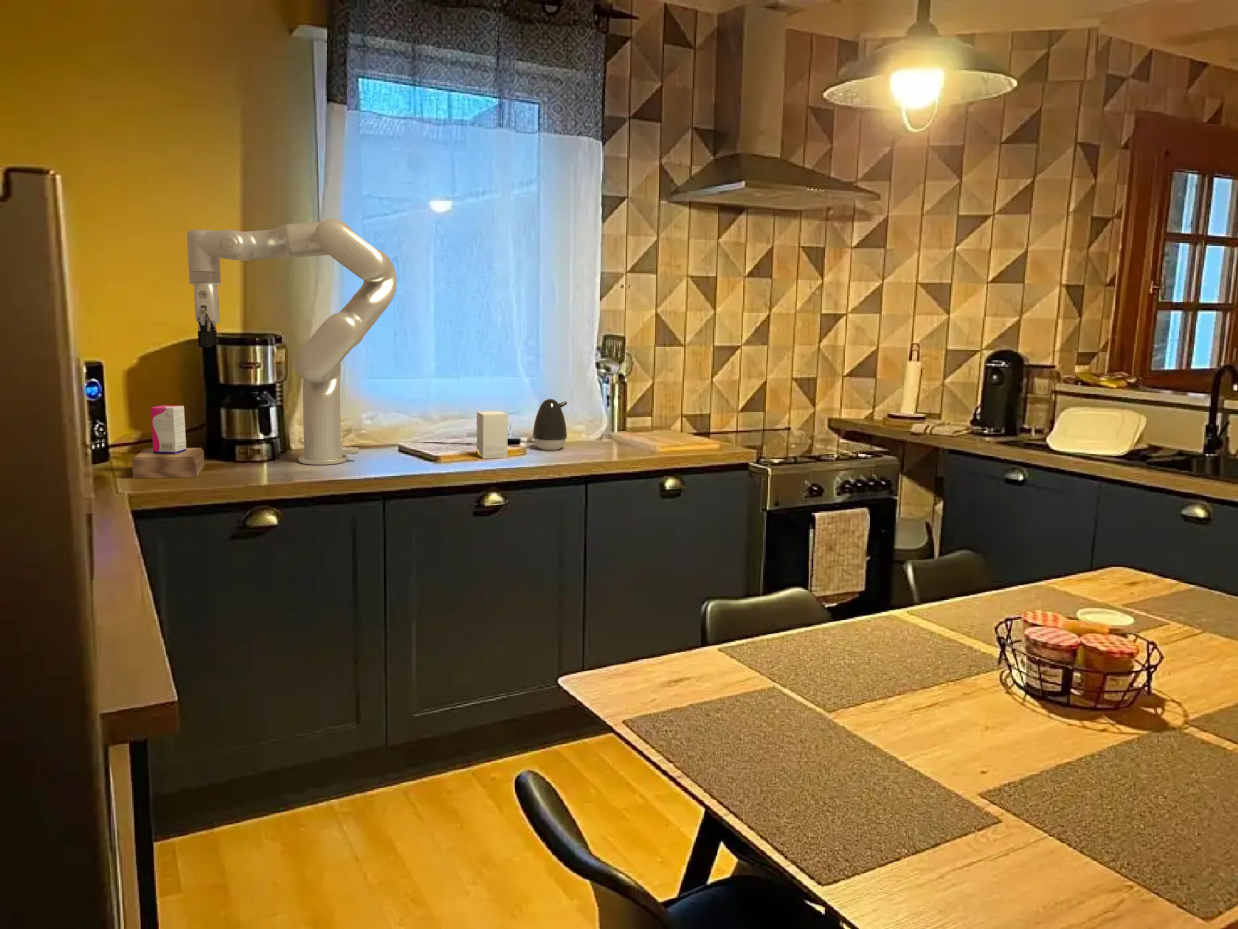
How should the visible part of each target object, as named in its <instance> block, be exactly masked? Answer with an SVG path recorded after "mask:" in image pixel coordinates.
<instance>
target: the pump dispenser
mask: <svg viewBox="0 0 1238 929" xmlns="http://www.w3.org/2000/svg"><path fill="white" fill-rule="evenodd" d="M567 404H568V402H567V401H566V400H565V401H563V402H559V403H558V401H557V400H555V399H552V398H547V399H545V400H544V401H543V402H542V403H541V405H540V406H539V408H538V411H537V413H536V416H535V420H534V424H533V429H532V438H533V440H534V441H533V442H534V444H535V445H536V447H537V448H538V449H541V450H542V451H552V452H553V451H558V450H560V449H562V447H563V446H564V445H565V443H566V439H567V438H568V432H567V431H568V430H567V424H566V419H565V416H564V412H563V410H562V408H563V407H565V406H567Z"/></svg>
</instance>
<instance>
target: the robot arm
mask: <svg viewBox="0 0 1238 929" xmlns="http://www.w3.org/2000/svg"><path fill="white" fill-rule="evenodd" d="M186 246H187V264H188V284H189V285H193V291H194V292H193V293H194V294H193V299H194V315H195V316H194V317H195V321H196V323H197V324H198V325H197V343H198V344H197V346H198V347H199V348H211V347H213V346H217V345H218V335H217V334H218V332H217V325H216V324H219V323H220V322H221V313H220V301H219V300H220V298H219V291H218V290H219V289H218V286H221V285H222V284H221V283H222V279H221V277H222V276H221V259H224V260H231V261H239V262H240V261H241V262H243V261H245V262H246V261H256V260H269V259H272V260H273V259H280V258H281V259H293V258H304V257H319V256H330V257H331V258H332V259H334V260H335V261H336V262H337V263H339V264H341V265H342V266H343V267H345V268H346V269H347V270H348V271H349V272H351V273H353V275H355V276H356V277H358V278H359V279H361V280H363V283H362V284H361V287H360V288H359V289H358V290H357V291H356V292H355V293H354V295H352V296H351V298H350V300H349V301H348V302H347V303H346V304H345V305H344V307H342V309H341V310H340V311H338V312H336V313H334V314H333V313H332V314H331V315H330V316H328V317H327V318H326V319H325V320H324V321H323V323H322V324H321V325H320V326H319V327H318V328H317V329H316V331H315V332H314V333H313V334H312V335H311V336H310V338H309V339H308V340H307V341H306V342H305V344H304V345H303V346H302V347H301V348H300V349H299V351H298V352H297V355H296V356H295V360H294V361H295V362H294V365H295V366H294V367H295V370H296V372H297V374H298V375H299V377H301V378H302V412H303V413H302V416H303V418H302V420H303V422H302V423H303V426H302V427H303V448H304V449H303V453H304V454H303V455H300V456H298V458H297V459H298V463H301V464H305V465H322V466H323V465H336V464H341V463H346V462H347V461H348V456H347V455H359V447H358V446H357V447H355V446H345V445H343V442H342V434H341V432H342V430H341V429H342V427H341V374H342V372H341V370H342V369H341V368H342V365H341V363H342V361H343V360H344V359H345V358H346V357H347V355H348V354H349V353H350V352H351V350H353V349H354V348H355V347H357V346H358V345H359V344H360V343H361V342H362V341H363V339H364V337H365V336H366V334H367V333H368V332H369V331H370V329H371V328H372V327H373V326H374V325H375V324H376V323H377V321H378V320H379V319H380V317H381V316H382V315H383V314H384V313H385V310H386V309H387V308H388V307H389V306H390V304H391V302H392V300H393V298H394V296H395V294H396V290H397V286H398V285H397V283H398V282H397V280H398V278H397V273H396V270H395V267H394V264H393V262H392V260H391V258H390V257H389V255H387V254H386V252H384V251H382V250H380V249H377V248H376V247H374V246H373V245H371V244H370V243H369V242H367V241H366V240H365V239H364V238H362V237H361V236H359V235H358V234H357V233H356V232H355V231H353V230H352V228H351V227H350V226H349V225H348V224H347V222H344V221H342V220H338V219H336V218H328V219H324V220H322V221H317V222H316V221H315V222H313V221H312V222H301V223H299V222H298V223H287V224H283V225H281V226H279V227H276V228H272V229H264V230H263V229H261V230H249V231H240V230H237V229H236V230H235V229H222V230H220V229H219V230H212V229H190V230H188V231H187V234H186Z"/></svg>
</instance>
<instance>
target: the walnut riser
mask: <svg viewBox="0 0 1238 929" xmlns="http://www.w3.org/2000/svg"><path fill="white" fill-rule="evenodd" d="M204 453H205V451H204V449H203V448H202V447H186V451H184V452H181V453H178V454H154V453H153V448H144V449H143V450H141V451H140V452H139V453H138V454H137V455H135V456H133V459H131V466H132V467H131V468H132V469H131V471H132V479H162V478H164V479H167V478H168V479H169V478H172V479H173V478H197V477H198V475H199V474H200V473H201V472H202V470H204V468H205V454H204ZM199 472H200V473H199Z"/></svg>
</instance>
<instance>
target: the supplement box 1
mask: <svg viewBox="0 0 1238 929" xmlns="http://www.w3.org/2000/svg"><path fill="white" fill-rule="evenodd" d="M150 415H151V429H152V430H151V431H152V432H151V433H152V449H153V453H154V454H178V453H181V452H184V451H186V448H187V438H186V420H185V406H184V405H170V404H169V405H166V404H165V405H157V406H152V407H151V406H150Z"/></svg>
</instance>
